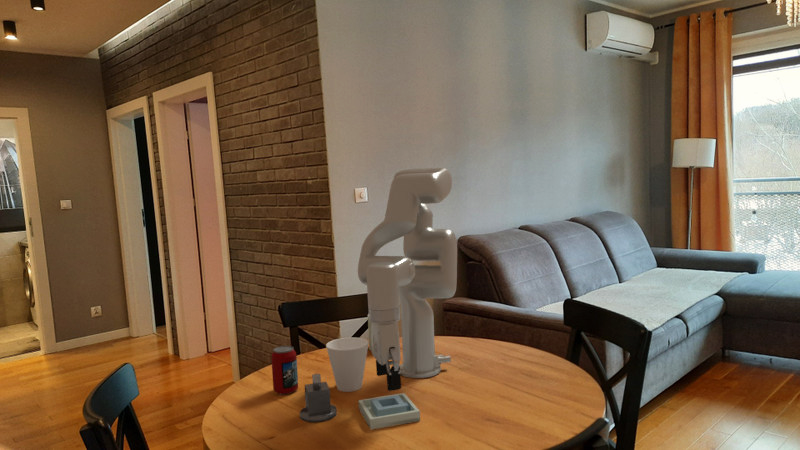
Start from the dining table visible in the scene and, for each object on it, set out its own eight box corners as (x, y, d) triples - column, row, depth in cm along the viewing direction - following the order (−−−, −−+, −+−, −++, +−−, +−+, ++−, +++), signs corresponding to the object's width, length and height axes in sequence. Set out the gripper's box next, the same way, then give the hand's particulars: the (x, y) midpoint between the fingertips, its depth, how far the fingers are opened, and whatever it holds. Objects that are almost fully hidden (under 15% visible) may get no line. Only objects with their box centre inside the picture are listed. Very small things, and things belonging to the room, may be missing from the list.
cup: (377, 381, 157) (375, 338, 156) (360, 397, 146) (358, 351, 145) (339, 377, 161) (337, 336, 160) (320, 393, 150) (318, 348, 149)
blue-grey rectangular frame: (371, 408, 137) (370, 399, 136) (404, 403, 139) (403, 393, 139) (378, 420, 130) (378, 410, 130) (413, 414, 132) (412, 404, 132)
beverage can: (292, 396, 149) (290, 352, 148) (269, 395, 150) (266, 352, 149) (302, 387, 155) (299, 345, 154) (279, 386, 157) (277, 344, 156)
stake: (333, 404, 142) (331, 366, 141) (340, 418, 133) (337, 378, 133) (297, 410, 139) (295, 371, 138) (302, 425, 131) (300, 384, 130)
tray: (404, 402, 142) (404, 392, 142) (420, 420, 130) (419, 410, 130) (359, 409, 138) (358, 400, 138) (370, 429, 127) (370, 419, 127)
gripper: (360, 307, 140) (365, 372, 142) (378, 326, 123) (383, 399, 125) (389, 303, 142) (393, 367, 144) (410, 321, 125) (414, 393, 128)
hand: (388, 382), depth 135 cm, fingers open, 9 cm apart
